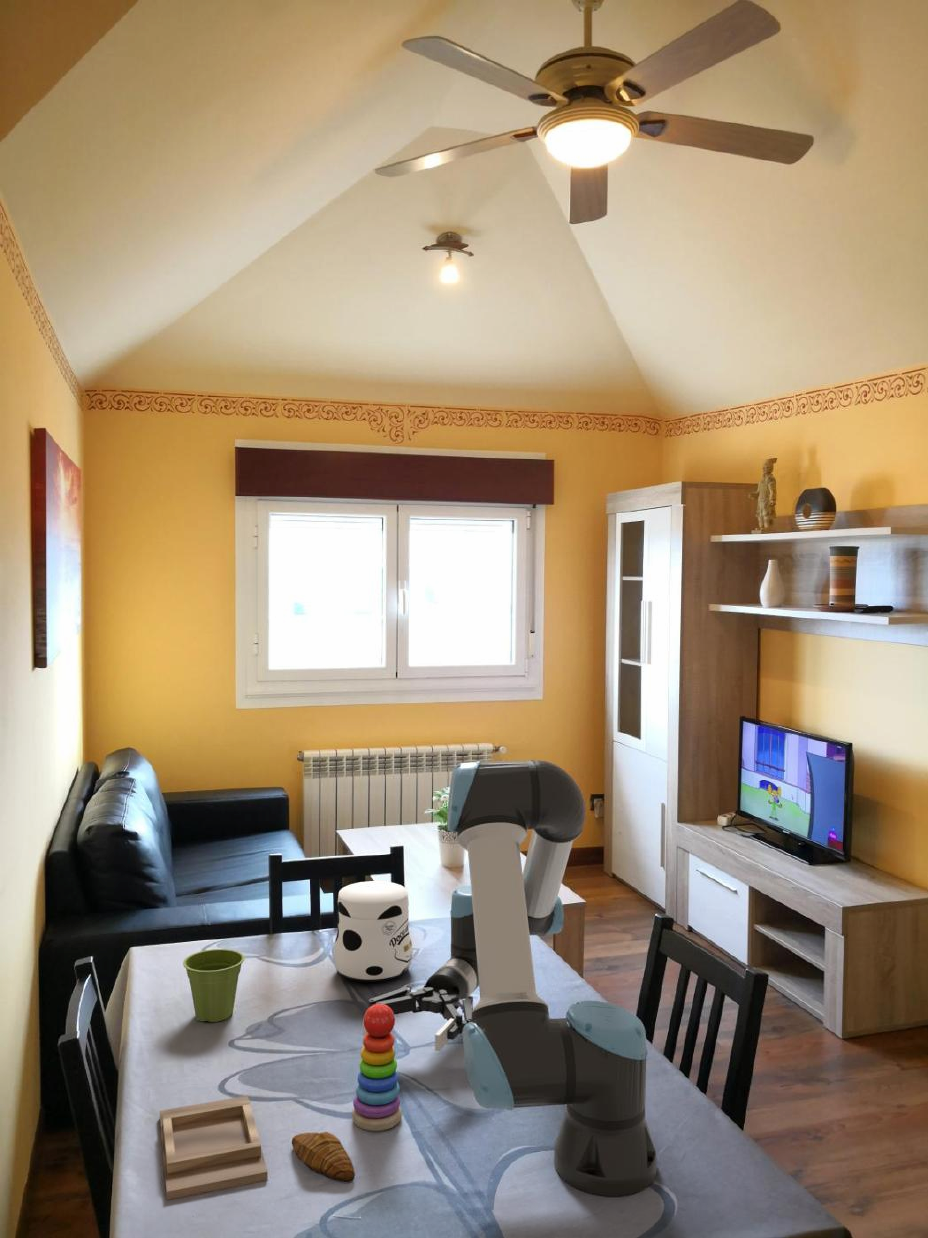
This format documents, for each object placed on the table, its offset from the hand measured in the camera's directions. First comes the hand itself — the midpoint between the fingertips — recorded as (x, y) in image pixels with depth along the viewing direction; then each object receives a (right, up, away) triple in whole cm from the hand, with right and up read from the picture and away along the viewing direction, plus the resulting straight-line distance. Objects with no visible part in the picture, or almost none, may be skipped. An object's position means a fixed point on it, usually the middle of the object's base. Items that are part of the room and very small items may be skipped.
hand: (400, 1035), depth 167 cm
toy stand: (-28, -11, -15) cm, 34 cm away
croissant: (-10, -11, -20) cm, 25 cm away
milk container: (-9, -8, +51) cm, 52 cm away
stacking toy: (-3, -11, -8) cm, 13 cm away
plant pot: (-39, -9, +29) cm, 49 cm away
